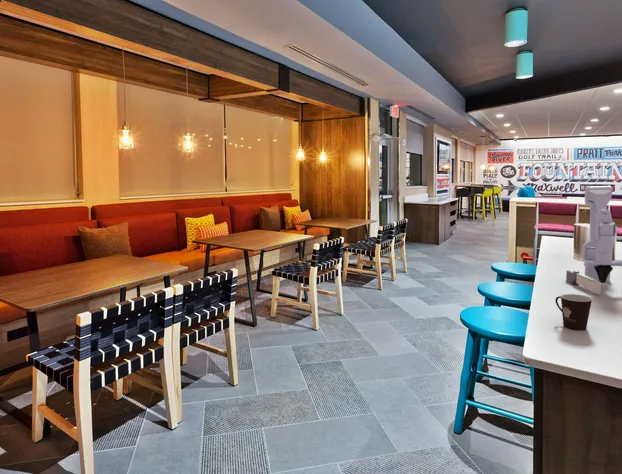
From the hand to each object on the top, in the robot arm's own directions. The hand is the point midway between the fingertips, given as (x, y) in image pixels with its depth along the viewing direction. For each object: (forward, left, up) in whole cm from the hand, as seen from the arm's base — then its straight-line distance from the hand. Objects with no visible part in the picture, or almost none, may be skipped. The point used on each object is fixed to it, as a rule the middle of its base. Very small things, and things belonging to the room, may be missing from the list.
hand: (602, 282), depth 178 cm
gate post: (+6, -13, -3) cm, 15 cm away
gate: (+6, 0, -3) cm, 6 cm away
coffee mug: (+34, +44, -4) cm, 55 cm away
